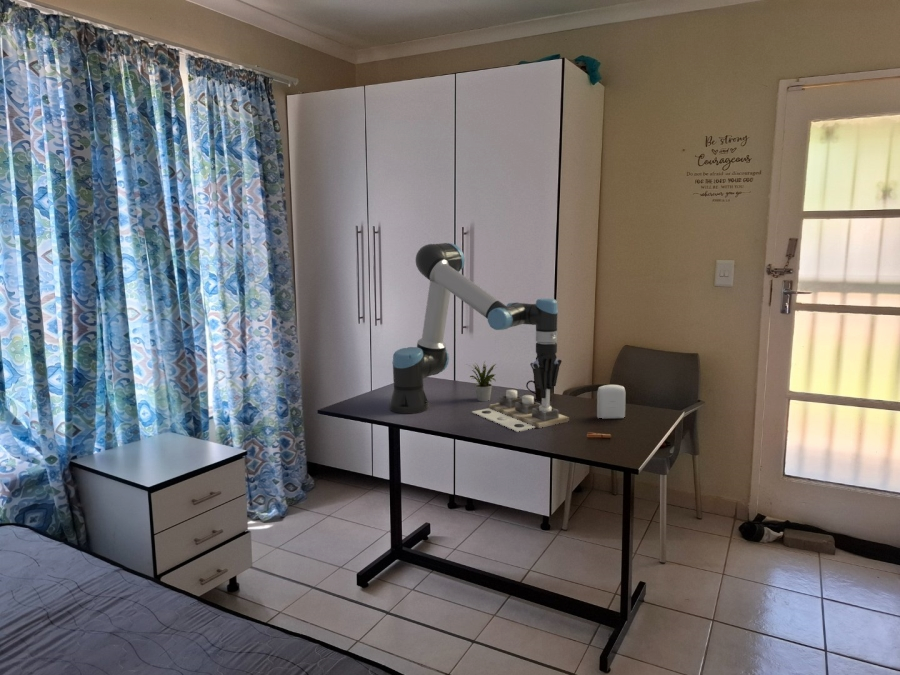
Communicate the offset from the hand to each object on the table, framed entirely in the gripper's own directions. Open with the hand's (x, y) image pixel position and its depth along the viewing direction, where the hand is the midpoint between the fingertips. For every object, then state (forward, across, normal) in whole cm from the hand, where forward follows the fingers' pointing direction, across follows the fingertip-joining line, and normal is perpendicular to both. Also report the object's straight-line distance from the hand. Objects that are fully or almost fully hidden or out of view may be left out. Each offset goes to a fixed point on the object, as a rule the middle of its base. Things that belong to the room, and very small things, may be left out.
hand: (545, 406), depth 229 cm
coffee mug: (+6, +17, +23) cm, 29 cm away
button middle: (+2, 0, +10) cm, 10 cm away
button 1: (+2, 0, +20) cm, 20 cm away
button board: (+6, 0, +10) cm, 12 cm away
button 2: (+4, 0, 0) cm, 4 cm away
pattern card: (+6, -12, +10) cm, 17 cm away
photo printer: (+6, +23, -10) cm, 26 cm away
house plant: (+6, -3, +37) cm, 38 cm away
